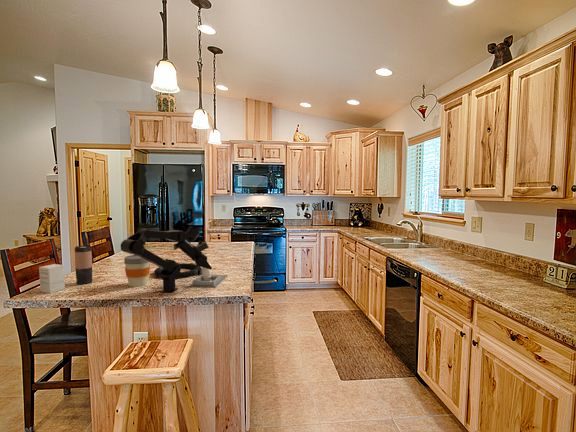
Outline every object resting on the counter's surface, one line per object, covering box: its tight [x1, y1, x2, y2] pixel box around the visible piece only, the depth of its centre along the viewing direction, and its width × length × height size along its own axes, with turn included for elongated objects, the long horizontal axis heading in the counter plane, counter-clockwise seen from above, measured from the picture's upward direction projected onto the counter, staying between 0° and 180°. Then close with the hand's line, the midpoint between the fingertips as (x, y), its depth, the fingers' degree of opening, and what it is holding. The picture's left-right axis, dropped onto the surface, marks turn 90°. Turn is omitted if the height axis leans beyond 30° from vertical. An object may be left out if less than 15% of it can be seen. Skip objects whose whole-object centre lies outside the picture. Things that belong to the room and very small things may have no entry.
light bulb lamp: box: [201, 262, 213, 281], centre depth 170 cm, size 6×6×10 cm
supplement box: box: [38, 263, 66, 294], centre depth 156 cm, size 7×7×13 cm
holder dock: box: [189, 274, 228, 288], centre depth 175 cm, size 22×14×3 cm, turn 174°
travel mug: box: [74, 244, 93, 286], centre depth 169 cm, size 8×8×20 cm
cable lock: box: [153, 262, 203, 279], centre depth 192 cm, size 28×4×30 cm
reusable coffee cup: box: [123, 254, 151, 288], centre depth 168 cm, size 12×13×15 cm
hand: (209, 267), depth 171 cm, fingers open, 9 cm apart
